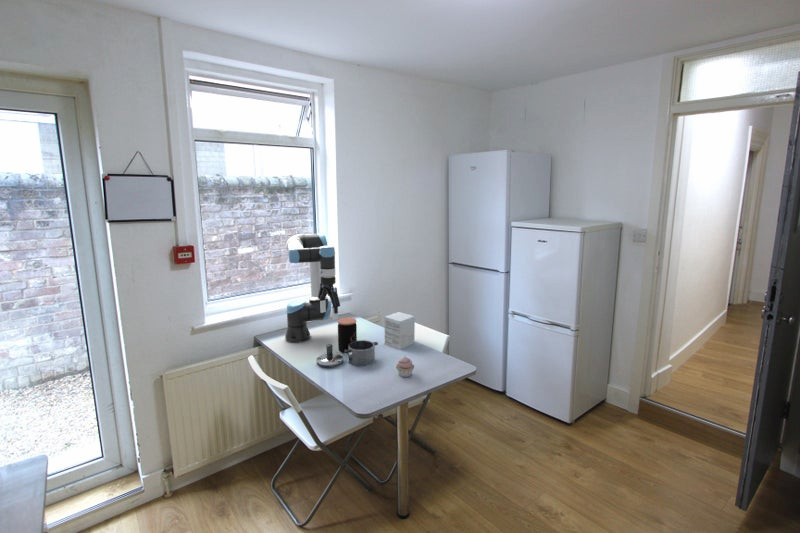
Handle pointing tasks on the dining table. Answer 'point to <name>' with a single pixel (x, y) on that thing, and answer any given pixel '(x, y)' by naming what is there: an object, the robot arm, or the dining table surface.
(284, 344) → the dining table surface
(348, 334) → the coffee jar
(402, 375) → the cupcake
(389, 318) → the supplement box
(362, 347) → the pot
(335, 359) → the lid
